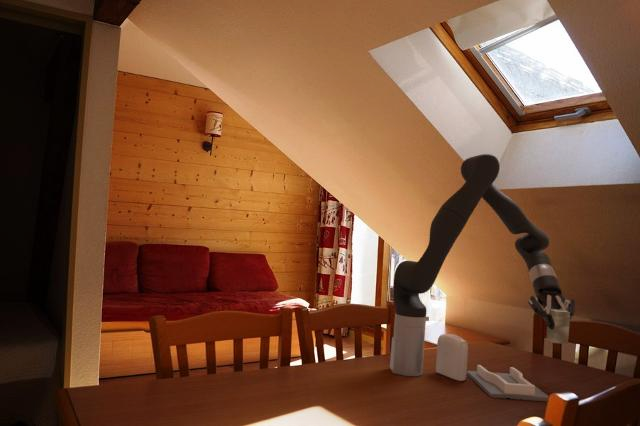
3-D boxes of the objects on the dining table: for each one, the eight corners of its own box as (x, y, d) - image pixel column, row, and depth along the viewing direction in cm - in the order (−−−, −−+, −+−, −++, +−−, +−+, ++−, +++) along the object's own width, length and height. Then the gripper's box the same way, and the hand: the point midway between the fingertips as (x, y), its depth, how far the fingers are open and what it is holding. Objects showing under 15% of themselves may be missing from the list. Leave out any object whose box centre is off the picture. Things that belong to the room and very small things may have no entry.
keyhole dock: (490, 397, 139) (491, 384, 139) (466, 373, 161) (467, 362, 161) (550, 401, 140) (551, 388, 140) (518, 377, 162) (518, 366, 162)
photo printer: (433, 372, 161) (436, 331, 161) (443, 371, 163) (446, 331, 163) (457, 382, 152) (460, 339, 152) (468, 380, 154) (471, 338, 154)
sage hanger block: (554, 342, 150) (556, 311, 151) (546, 339, 155) (548, 308, 156) (568, 343, 151) (570, 312, 151) (559, 340, 156) (561, 309, 156)
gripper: (526, 272, 161) (540, 319, 149) (572, 276, 162) (590, 323, 149) (518, 287, 166) (531, 334, 154) (562, 291, 167) (579, 337, 154)
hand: (560, 328), depth 152 cm, fingers closed on sage hanger block, 4 cm apart
